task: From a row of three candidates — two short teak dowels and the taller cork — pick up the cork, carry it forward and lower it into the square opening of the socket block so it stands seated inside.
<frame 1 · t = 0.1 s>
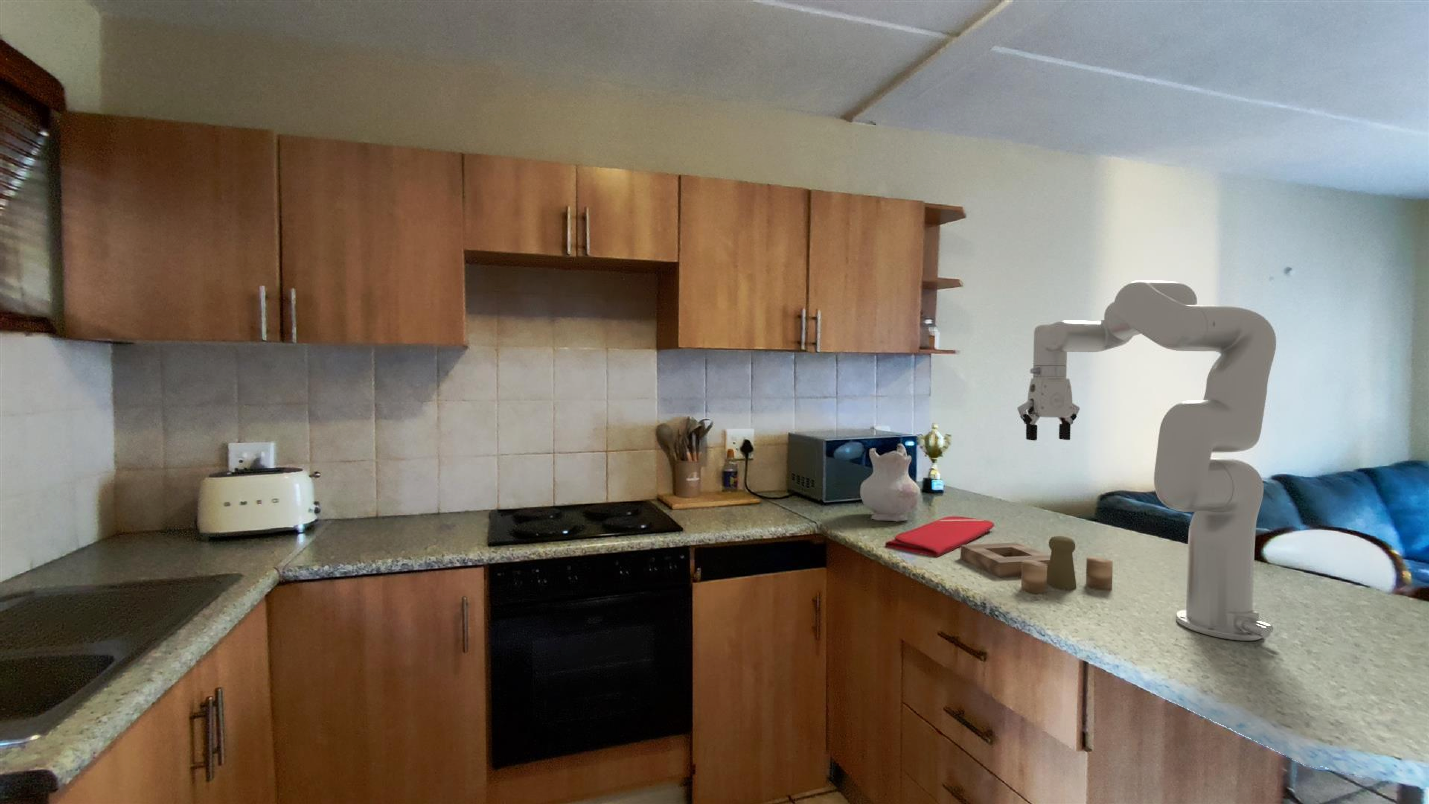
hand: (1048, 439, 158), 31 cm above the worktop, tool pointing down, fingers open, 9 cm apart
red folded cloth: (942, 541, 181), on the worktop
socket block: (1008, 565, 154), on the worktop
ceramic pitcher: (890, 518, 209), on the worktop
short dowel b: (1033, 590, 135), on the worktop
short dowel a: (1098, 586, 138), on the worktop
cork: (1061, 586, 139), on the worktop
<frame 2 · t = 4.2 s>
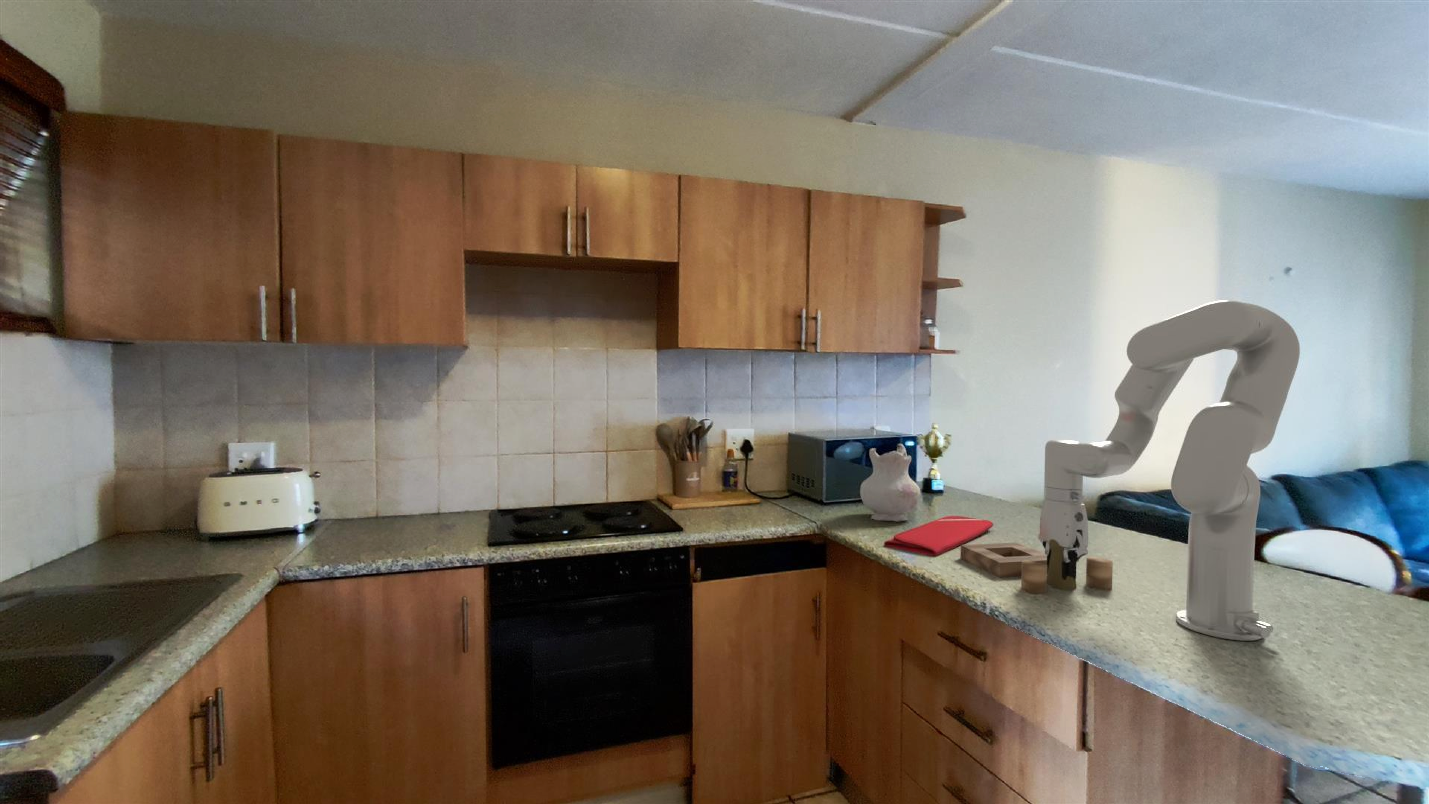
hand: (1061, 575, 139), 2 cm above the worktop, tool pointing down, fingers closed on cork, 3 cm apart
cork: (1061, 586, 139), on the worktop, touching gripper
when the fingers open (4 cm above the worktop, at t = 9.3 s): cork stays where it is, resting in socket block.
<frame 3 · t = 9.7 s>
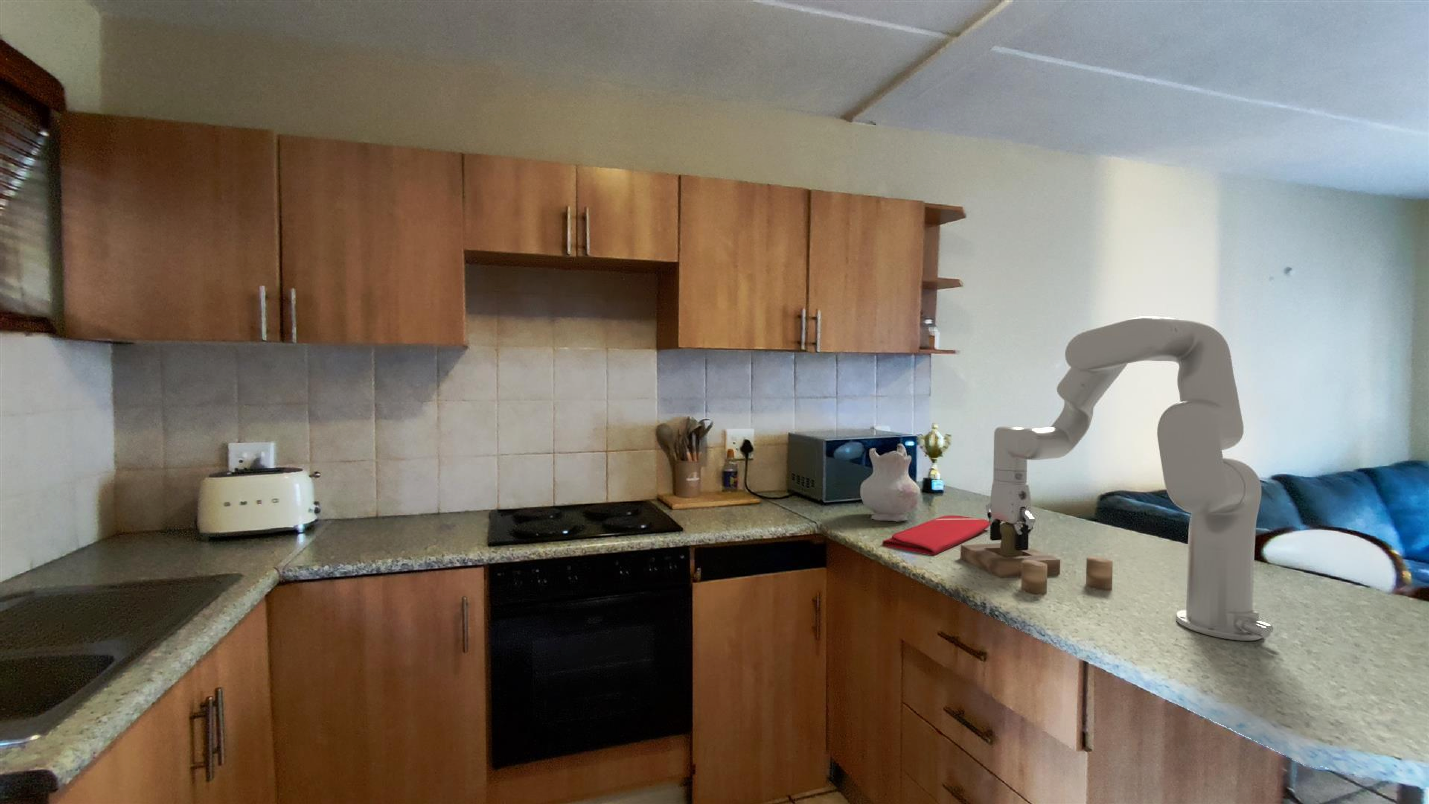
hand: (1008, 544, 153), 5 cm above the worktop, tool pointing down, fingers open, 9 cm apart
cork: (1010, 567, 153), resting in socket block
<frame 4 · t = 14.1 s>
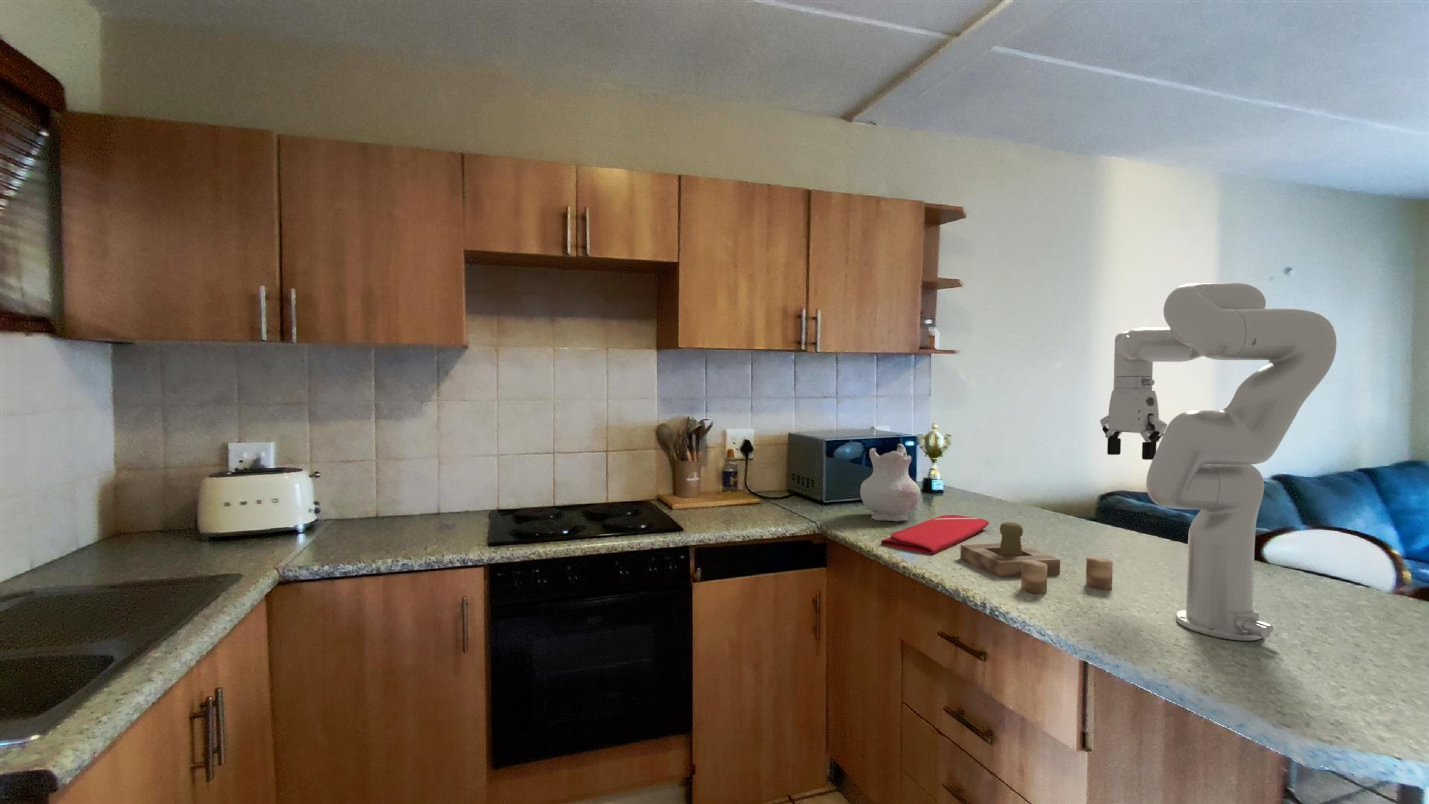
hand: (1130, 456, 145), 28 cm above the worktop, tool pointing down, fingers open, 9 cm apart
at the end: cork 0.9 cm from the socket block (horizontally); cork resting in socket block; cork tilted 0° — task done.
